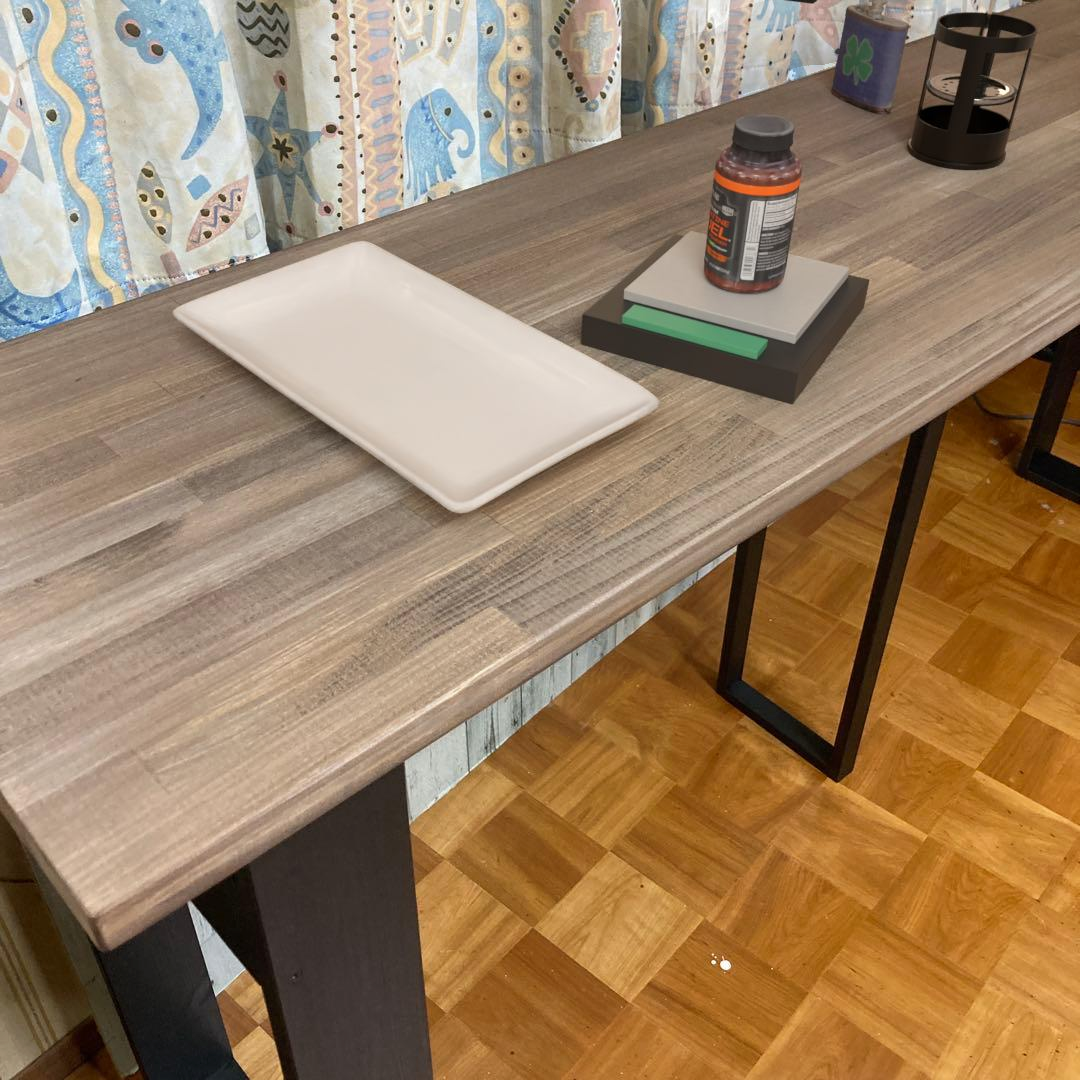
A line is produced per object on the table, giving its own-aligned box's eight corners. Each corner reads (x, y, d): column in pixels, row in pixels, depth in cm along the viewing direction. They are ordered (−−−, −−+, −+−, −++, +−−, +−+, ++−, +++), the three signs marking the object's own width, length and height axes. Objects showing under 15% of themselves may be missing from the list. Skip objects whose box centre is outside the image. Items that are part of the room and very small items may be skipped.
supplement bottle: (688, 267, 84) (704, 112, 77) (758, 256, 85) (780, 103, 78) (726, 302, 79) (746, 142, 72) (799, 289, 81) (826, 132, 74)
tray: (459, 558, 62) (456, 507, 60) (174, 348, 80) (164, 303, 78) (664, 443, 71) (668, 396, 69) (367, 278, 89) (363, 236, 87)
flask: (896, 112, 121) (918, 5, 115) (874, 116, 120) (895, 8, 114) (844, 87, 128) (861, -15, 121) (823, 91, 127) (839, -12, 120)
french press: (996, 178, 107) (1071, -96, 92) (897, 162, 110) (954, -106, 96) (1012, 140, 115) (1083, -117, 101) (919, 125, 118) (975, -126, 104)
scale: (863, 308, 86) (871, 269, 84) (792, 404, 75) (800, 362, 73) (672, 261, 92) (675, 224, 90) (580, 344, 81) (582, 303, 79)
